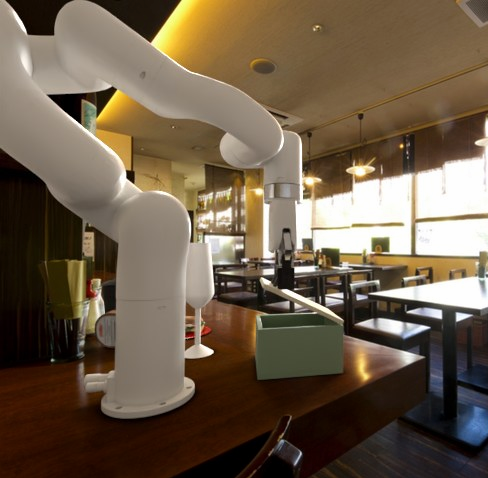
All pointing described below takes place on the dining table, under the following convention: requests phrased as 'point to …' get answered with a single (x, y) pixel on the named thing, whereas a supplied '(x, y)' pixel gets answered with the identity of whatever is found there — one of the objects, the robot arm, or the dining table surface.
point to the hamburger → (191, 327)
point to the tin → (106, 329)
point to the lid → (298, 299)
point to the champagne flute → (199, 290)
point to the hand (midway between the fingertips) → (284, 285)
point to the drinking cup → (109, 295)
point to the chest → (297, 345)
